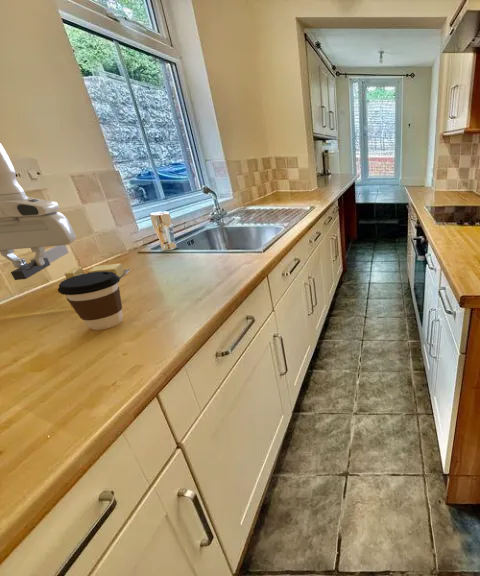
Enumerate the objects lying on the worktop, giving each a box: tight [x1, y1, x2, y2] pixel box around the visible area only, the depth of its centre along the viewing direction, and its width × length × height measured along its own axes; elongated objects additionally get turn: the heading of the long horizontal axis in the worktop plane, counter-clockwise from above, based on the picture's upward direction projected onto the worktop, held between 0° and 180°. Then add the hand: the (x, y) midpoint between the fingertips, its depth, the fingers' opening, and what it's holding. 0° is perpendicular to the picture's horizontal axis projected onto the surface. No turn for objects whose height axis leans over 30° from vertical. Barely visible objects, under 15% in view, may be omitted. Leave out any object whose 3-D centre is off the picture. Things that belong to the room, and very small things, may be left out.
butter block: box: [87, 263, 125, 278], centre depth 101 cm, size 7×6×4 cm
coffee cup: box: [57, 271, 123, 331], centre depth 76 cm, size 11×11×12 cm
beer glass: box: [149, 211, 179, 251], centre depth 133 cm, size 7×7×15 cm
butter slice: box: [64, 266, 85, 279], centre depth 99 cm, size 2×6×4 cm, turn 19°
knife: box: [10, 245, 69, 281], centre depth 81 cm, size 21×2×3 cm, turn 20°
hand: (30, 266), depth 76 cm, fingers closed on knife, 2 cm apart
